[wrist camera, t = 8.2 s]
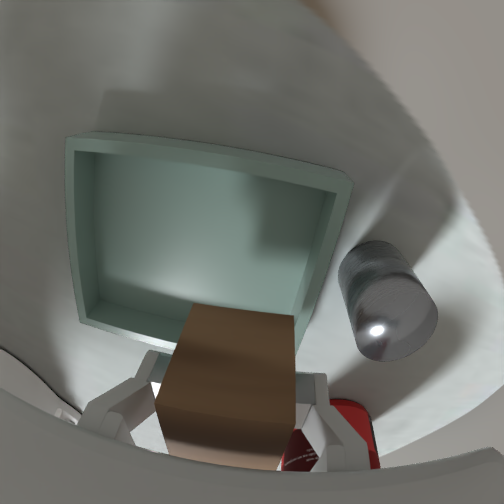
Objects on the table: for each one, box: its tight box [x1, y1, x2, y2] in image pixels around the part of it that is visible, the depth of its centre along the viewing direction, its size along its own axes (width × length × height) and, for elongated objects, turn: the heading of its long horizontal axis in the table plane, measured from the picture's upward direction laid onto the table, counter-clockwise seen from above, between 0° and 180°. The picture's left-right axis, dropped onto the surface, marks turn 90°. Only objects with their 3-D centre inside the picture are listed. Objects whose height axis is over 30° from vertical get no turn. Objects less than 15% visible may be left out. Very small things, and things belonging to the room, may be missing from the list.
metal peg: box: [338, 241, 438, 361], centre depth 14 cm, size 4×4×5 cm
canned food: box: [281, 399, 381, 472], centre depth 18 cm, size 8×8×11 cm
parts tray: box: [65, 131, 354, 356], centre depth 15 cm, size 11×13×2 cm
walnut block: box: [154, 303, 296, 471], centre depth 11 cm, size 4×4×5 cm
